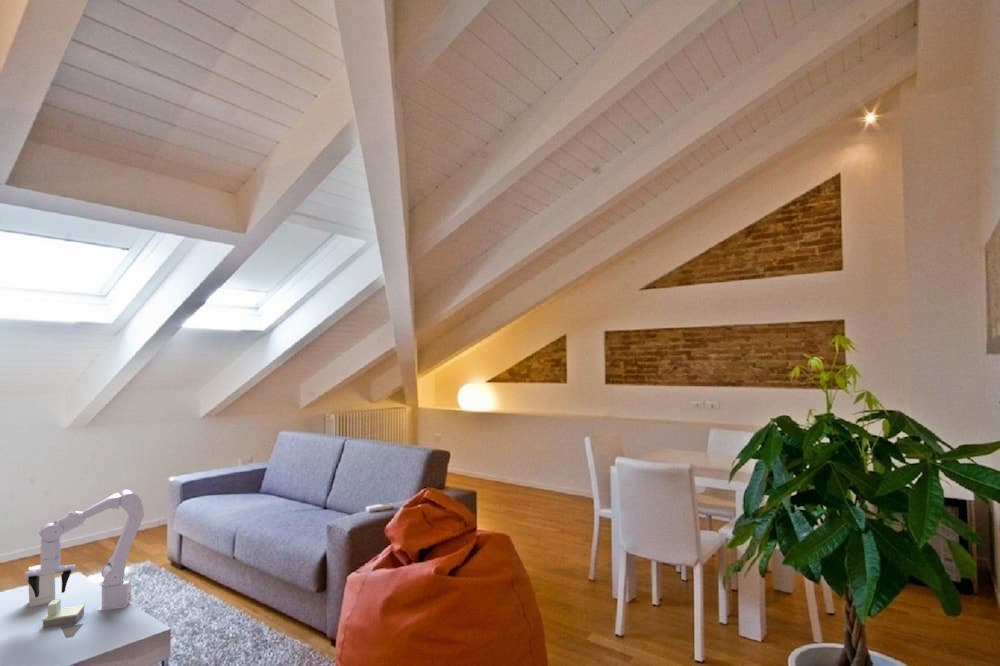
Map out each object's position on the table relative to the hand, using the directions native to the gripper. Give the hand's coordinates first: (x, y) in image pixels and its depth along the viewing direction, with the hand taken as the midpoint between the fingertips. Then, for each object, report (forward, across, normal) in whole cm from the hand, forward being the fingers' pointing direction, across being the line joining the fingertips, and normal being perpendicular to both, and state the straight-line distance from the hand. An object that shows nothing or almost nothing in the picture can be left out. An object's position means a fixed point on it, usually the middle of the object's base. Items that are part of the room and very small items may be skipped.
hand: (50, 594), depth 207 cm
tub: (+10, -4, +2) cm, 11 cm away
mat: (+10, -4, +13) cm, 17 cm away
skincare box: (+10, +7, -21) cm, 24 cm away
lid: (+7, -4, +2) cm, 9 cm away
